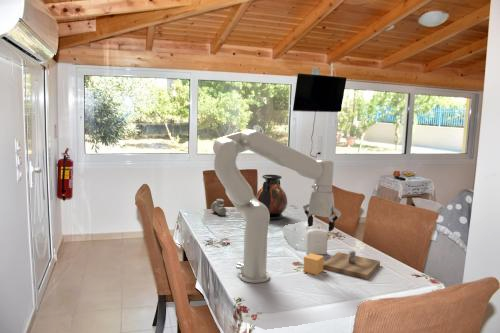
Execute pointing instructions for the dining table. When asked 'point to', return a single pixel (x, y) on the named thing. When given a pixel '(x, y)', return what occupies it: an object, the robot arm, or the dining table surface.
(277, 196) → the amphora vase
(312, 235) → the photo printer
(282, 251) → the dining table surface
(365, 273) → the board
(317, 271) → the solid orange cube
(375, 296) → the dining table surface
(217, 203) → the grey lumpy piece
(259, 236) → the robot arm
